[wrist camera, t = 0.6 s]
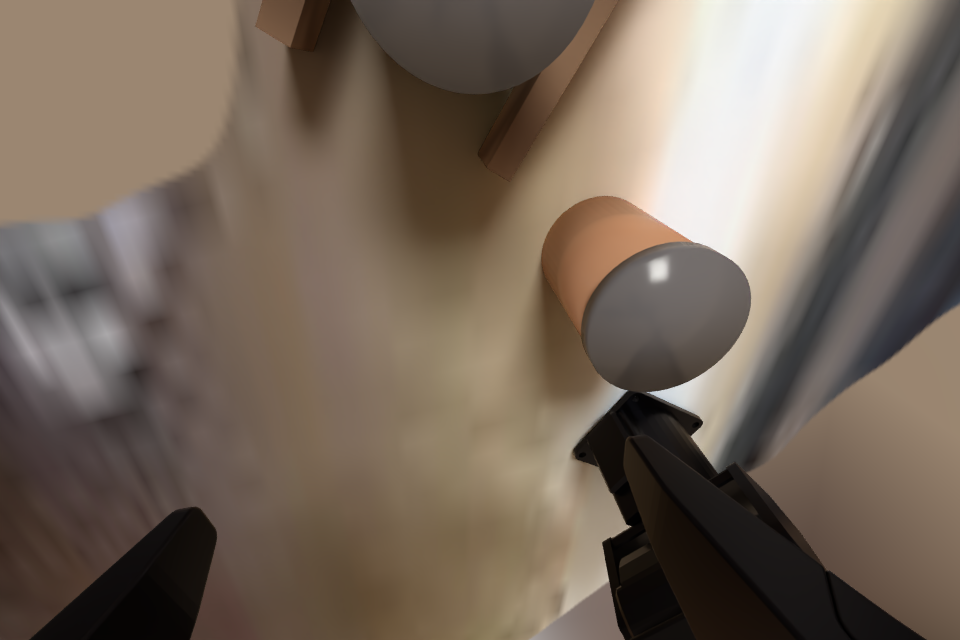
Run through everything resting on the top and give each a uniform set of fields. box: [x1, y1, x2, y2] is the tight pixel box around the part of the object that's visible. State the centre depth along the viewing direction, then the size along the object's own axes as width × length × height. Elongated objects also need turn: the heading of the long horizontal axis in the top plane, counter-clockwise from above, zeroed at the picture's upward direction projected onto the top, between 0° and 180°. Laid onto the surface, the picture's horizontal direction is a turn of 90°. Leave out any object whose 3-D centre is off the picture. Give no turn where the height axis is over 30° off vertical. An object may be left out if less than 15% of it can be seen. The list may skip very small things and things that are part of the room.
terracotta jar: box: [542, 196, 751, 392], centre depth 17 cm, size 6×6×7 cm
